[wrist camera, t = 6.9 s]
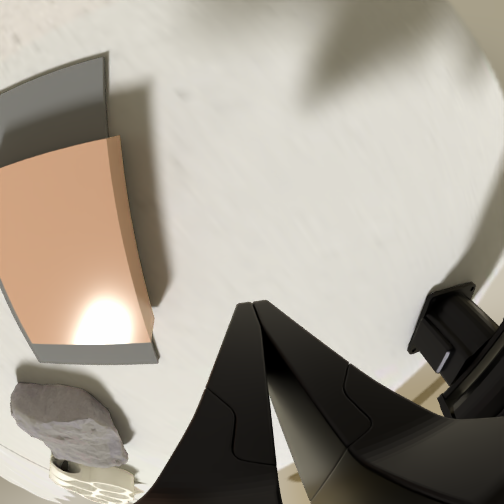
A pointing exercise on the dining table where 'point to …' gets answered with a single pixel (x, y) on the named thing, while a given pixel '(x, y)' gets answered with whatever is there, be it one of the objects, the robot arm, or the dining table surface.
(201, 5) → the dining table surface
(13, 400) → the stone block
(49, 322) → the tan flat block
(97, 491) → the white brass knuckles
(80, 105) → the mat
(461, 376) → the robot arm
